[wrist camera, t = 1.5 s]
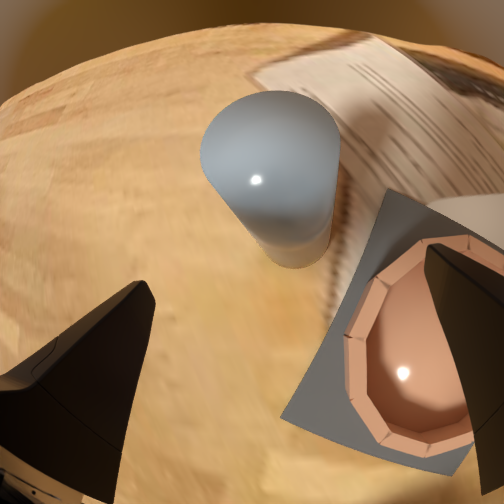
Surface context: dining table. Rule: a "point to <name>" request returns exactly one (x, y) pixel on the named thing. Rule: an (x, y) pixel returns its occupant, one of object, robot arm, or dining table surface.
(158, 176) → the dining table surface
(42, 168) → the dining table surface
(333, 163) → the cylinder
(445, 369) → the dish
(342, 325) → the mat
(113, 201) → the dining table surface
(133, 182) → the dining table surface
